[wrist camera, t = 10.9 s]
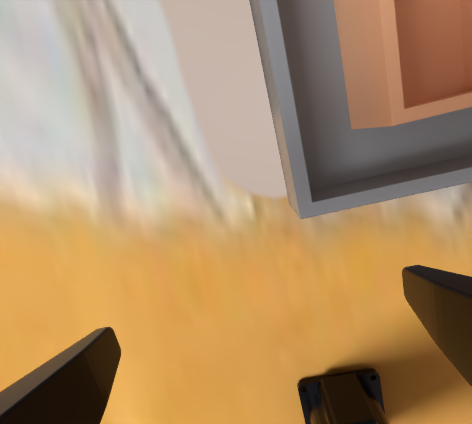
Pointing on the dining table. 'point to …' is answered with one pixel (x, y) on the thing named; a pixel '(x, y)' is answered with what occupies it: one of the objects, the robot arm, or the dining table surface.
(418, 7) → the small crate
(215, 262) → the dining table surface
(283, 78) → the big crate
